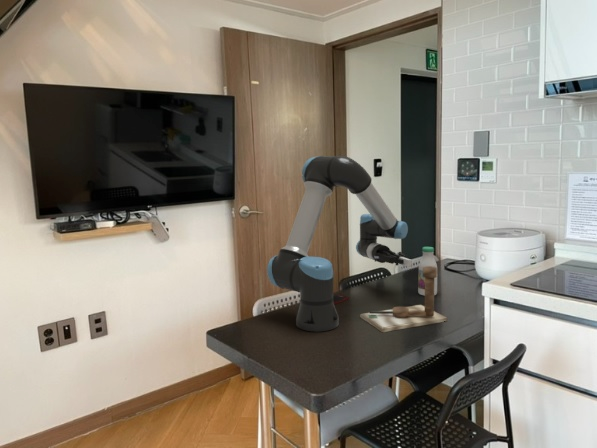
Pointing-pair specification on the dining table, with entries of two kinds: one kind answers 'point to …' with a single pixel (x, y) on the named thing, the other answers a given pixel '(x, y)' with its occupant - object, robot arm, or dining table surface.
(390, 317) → the beige flat rectangular board
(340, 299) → the cell phone
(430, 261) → the milk bottle
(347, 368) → the dining table surface
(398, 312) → the wooden l-shaped rod
